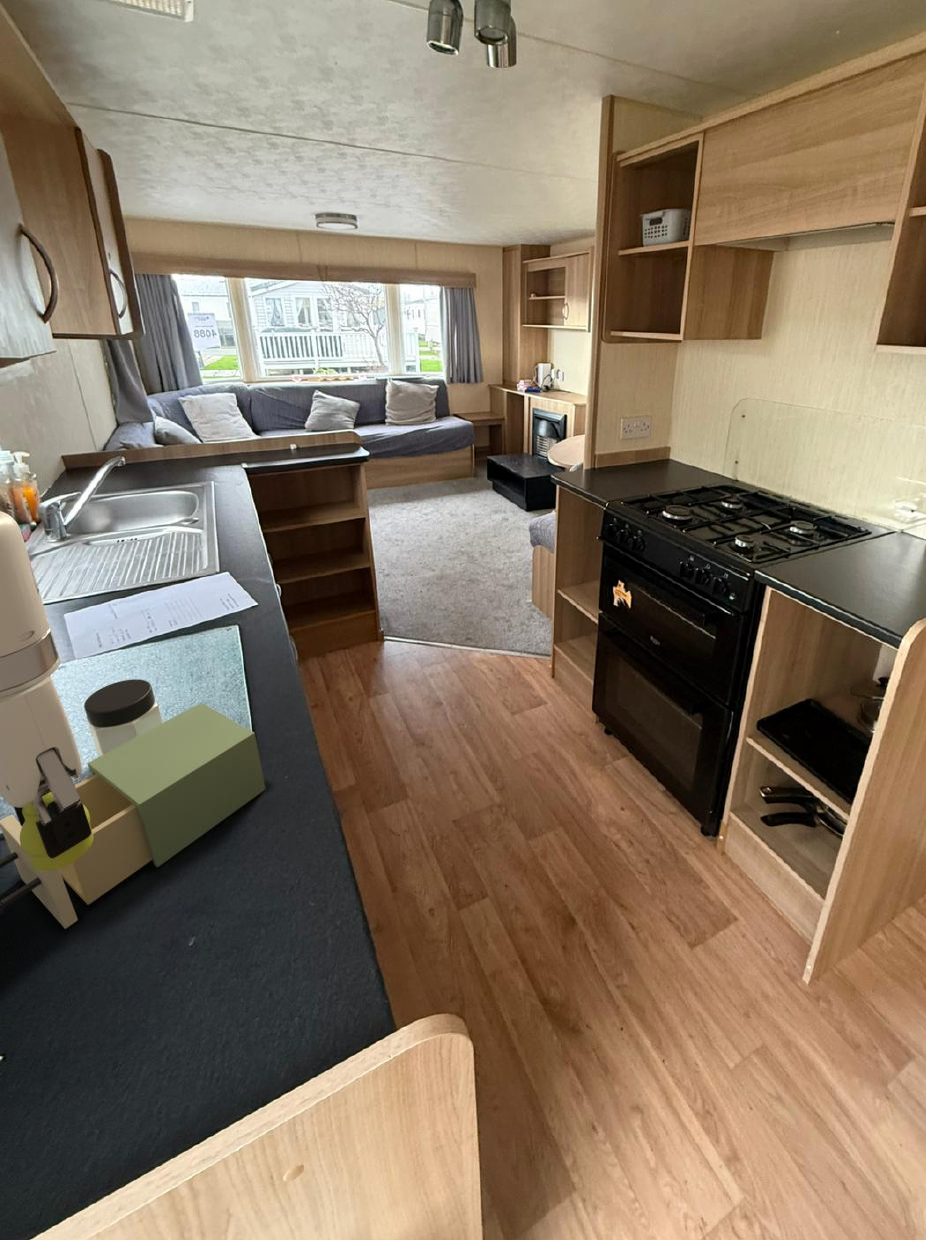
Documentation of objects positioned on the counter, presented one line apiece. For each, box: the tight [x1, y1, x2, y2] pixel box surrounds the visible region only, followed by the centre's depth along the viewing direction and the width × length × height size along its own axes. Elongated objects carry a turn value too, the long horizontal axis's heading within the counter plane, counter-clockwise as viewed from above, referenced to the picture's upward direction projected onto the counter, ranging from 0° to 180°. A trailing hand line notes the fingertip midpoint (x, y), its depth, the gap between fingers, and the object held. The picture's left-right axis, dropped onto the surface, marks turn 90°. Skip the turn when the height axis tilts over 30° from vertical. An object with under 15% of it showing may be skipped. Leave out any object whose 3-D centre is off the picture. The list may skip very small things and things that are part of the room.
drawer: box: [0, 774, 153, 930], centre depth 66 cm, size 18×11×9 cm, turn 148°
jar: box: [83, 678, 164, 757], centre depth 84 cm, size 9×8×12 cm
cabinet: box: [87, 702, 266, 868], centre depth 76 cm, size 15×13×11 cm
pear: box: [20, 785, 94, 871], centre depth 52 cm, size 5×5×8 cm
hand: (56, 829), depth 53 cm, fingers closed on pear, 5 cm apart
